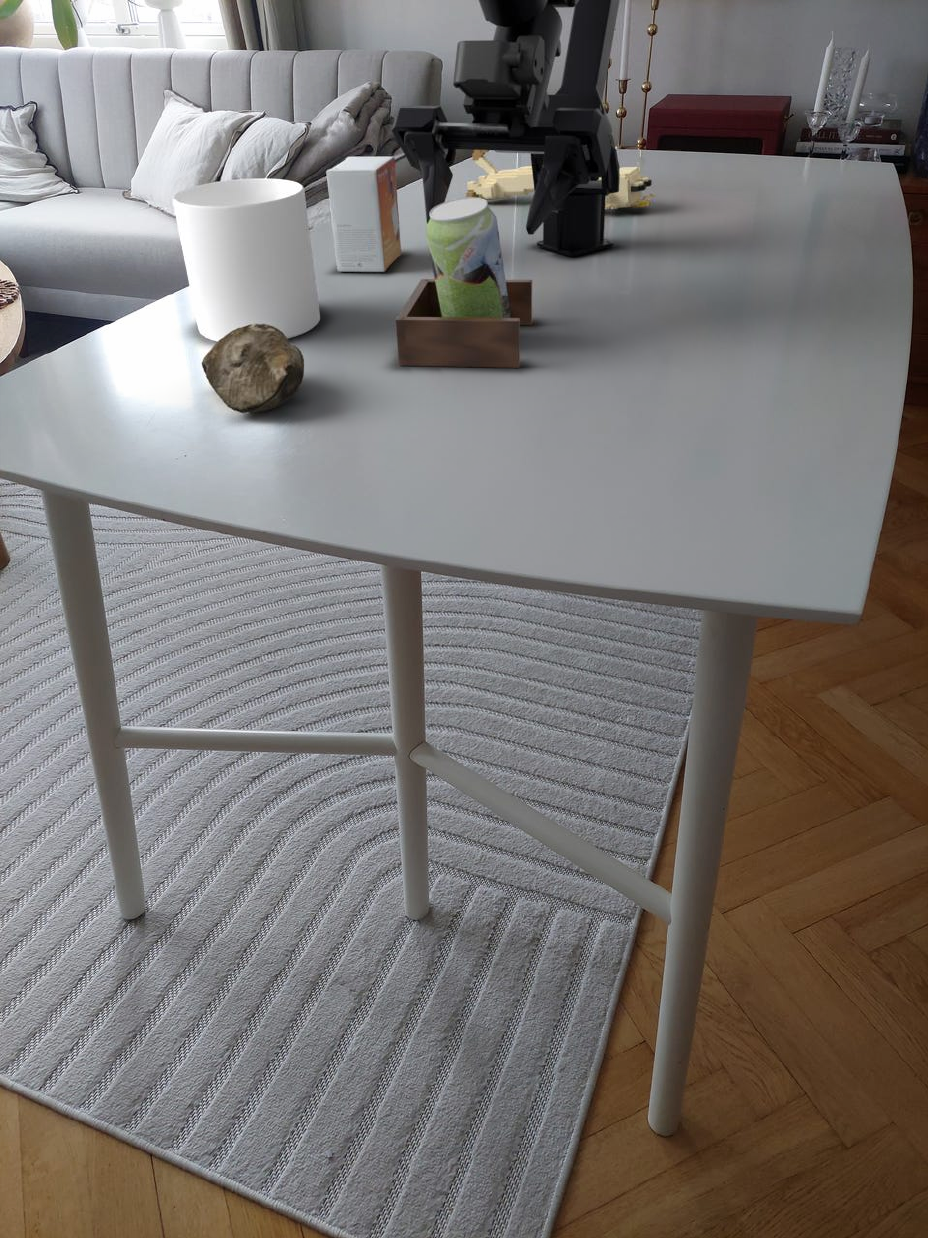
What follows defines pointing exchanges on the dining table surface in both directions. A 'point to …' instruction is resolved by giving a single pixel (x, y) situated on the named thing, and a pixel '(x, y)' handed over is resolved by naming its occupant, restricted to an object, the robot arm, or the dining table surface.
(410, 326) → the case
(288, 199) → the cup
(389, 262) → the small box
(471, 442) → the dining table surface
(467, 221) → the beverage can
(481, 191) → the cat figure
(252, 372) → the fossilized seashell
